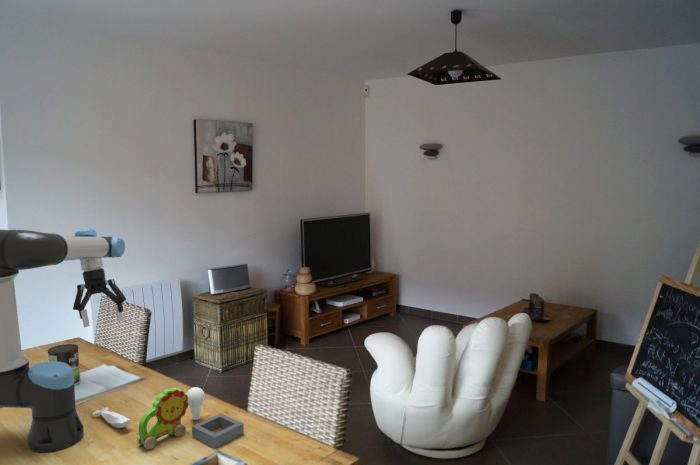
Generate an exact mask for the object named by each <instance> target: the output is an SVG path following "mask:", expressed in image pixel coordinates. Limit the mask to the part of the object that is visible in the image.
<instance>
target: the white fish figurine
mask: <svg viewBox="0 0 700 465" xmlns="http://www.w3.org/2000/svg"><path fill="white" fill-rule="evenodd" d="M92 414H93V415H101V416H102V418H103V419H104V420H105V421H106V422H107V423H108V424H109V425H110V426H112V427H114V428H116V429H121V428H125V427H128V425H129V424H131V420H132V419H131V418H129V417H126V416H125V415H123V414H120V413H118V412H115V411H111V410H110V407H103V408H99V409H97V410H95V411H94V412H93V413H92Z"/></svg>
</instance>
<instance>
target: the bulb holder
mask: <svg viewBox="0 0 700 465" xmlns="http://www.w3.org/2000/svg"><path fill="white" fill-rule="evenodd" d="M244 434H245V433H244V422H241V421H239V420H236V419H234V418H232V417H230V416H228V415H226V414H223V413H219V414H216V415H214V416H211V417H209V418H208V419H205V420H203V421H200V422H199V423H198V422H197V423H196V424H194V425H192V426H191V435H192V436H191V437H192V438H194V439H195V440H197V441H199V442H201V443H203V444H205V445H207V446H209V447H210V446H211V448H212V447H213V449H214V450H215V449H218V448H219V447H221V446H223V445H225V444H227V443H229V442H231V441H233V440H236V439H237V438H239V437H241V436H242V435H244Z"/></svg>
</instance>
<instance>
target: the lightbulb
mask: <svg viewBox="0 0 700 465" xmlns="http://www.w3.org/2000/svg"><path fill="white" fill-rule="evenodd" d="M185 394H186V395H187V396H188V403H189V404H188V407H189V410H190V413H191V419H192V420H194V421H198V420H199V419H200V418H201V410H202V409H201V408H202V405H203V403H204V401H205V397H206V395H205V392H204V390H203V389H202V388H201V387H197V386H196V387H195V386H194V387H191V388H190V389H188V391H186V393H185Z"/></svg>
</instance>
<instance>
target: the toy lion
mask: <svg viewBox="0 0 700 465" xmlns="http://www.w3.org/2000/svg"><path fill="white" fill-rule="evenodd" d="M188 404H189V403H188V396H187V395H186V393H185V391H184V390H182V389H180V388H175V387H170V388H169V389H168V388H165V389H163V390H162V392H161V393H159V394H158V395H157V396H156V398H155V400H154V401H153V402H152V406H151V408H149V409H148V410H146V411H145V412H144V413H143V414H142V416H141V419H140V420H139V424H138V436H137V440H136V442H137V444H138V445H140V446H144V448H145V449H147V450H152V449H154V448H155V447H156V446H157V444H158V440H159V439H160V438H162V437H163V436H167V435H174V436H175V437H178V438H181V437H183V435H185V433H186V430H187V427H186V426H185V425H184V424H182V418H183V417H184V416H185V415H186V413H187V409H188V407H189V405H188ZM153 417H156V419H157V420H156V421H157V422H155V423H154V425H152V427H151V428H150V429H149V431H148V430H147V429H148V424H149V421H150V420H151V419H152V418H153Z"/></svg>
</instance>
